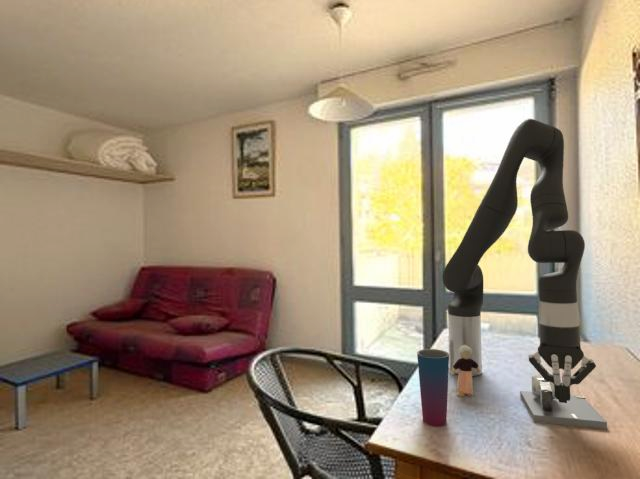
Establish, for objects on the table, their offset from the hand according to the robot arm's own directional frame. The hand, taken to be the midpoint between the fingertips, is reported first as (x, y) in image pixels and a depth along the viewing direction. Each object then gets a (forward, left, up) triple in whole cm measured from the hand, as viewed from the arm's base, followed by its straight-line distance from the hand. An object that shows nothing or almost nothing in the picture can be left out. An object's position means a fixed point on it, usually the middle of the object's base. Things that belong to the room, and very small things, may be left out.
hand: (562, 401), depth 84 cm
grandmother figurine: (-19, +10, -4) cm, 22 cm away
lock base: (+1, +5, -4) cm, 6 cm away
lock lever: (-2, +4, -2) cm, 5 cm away
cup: (-27, -7, -4) cm, 28 cm away
